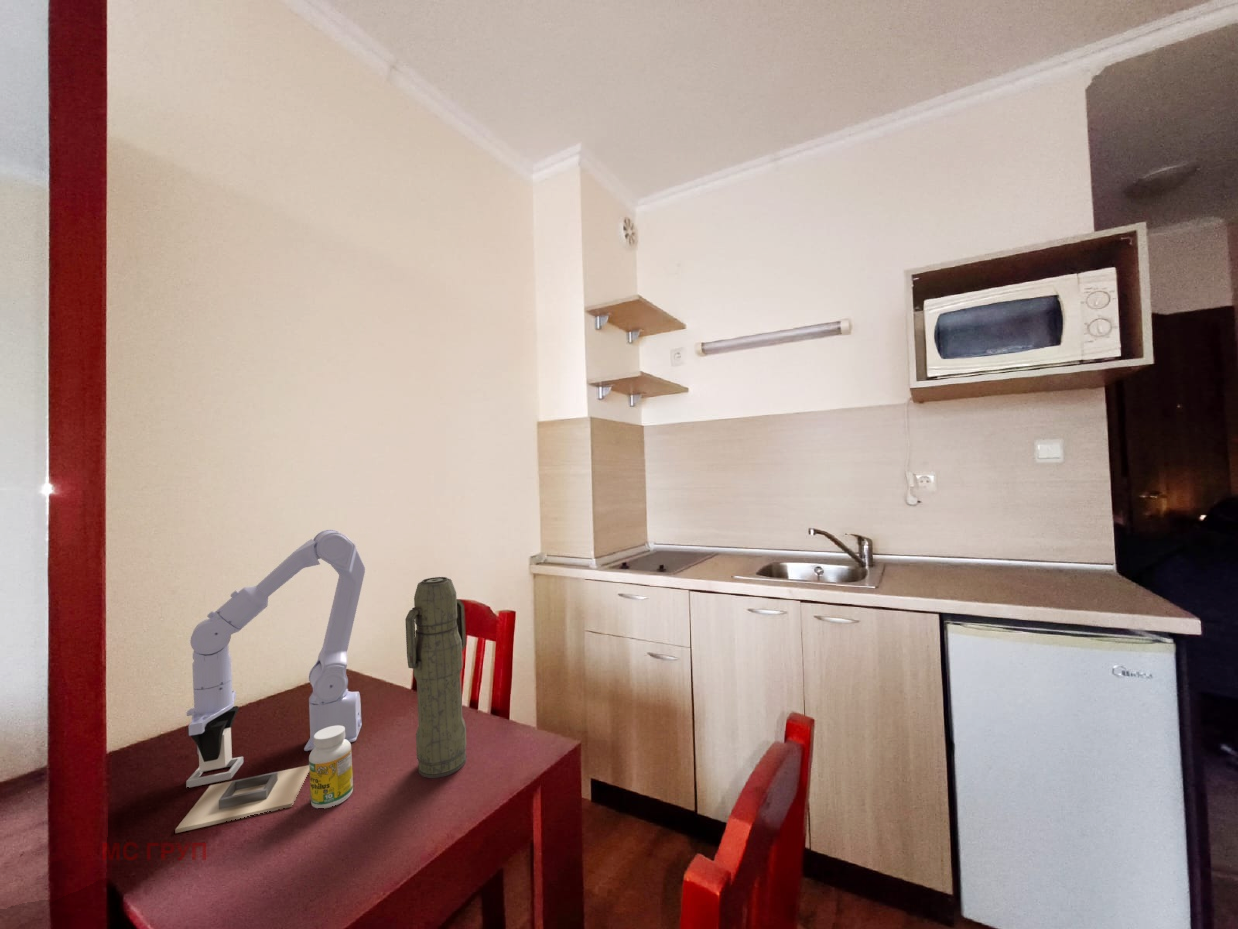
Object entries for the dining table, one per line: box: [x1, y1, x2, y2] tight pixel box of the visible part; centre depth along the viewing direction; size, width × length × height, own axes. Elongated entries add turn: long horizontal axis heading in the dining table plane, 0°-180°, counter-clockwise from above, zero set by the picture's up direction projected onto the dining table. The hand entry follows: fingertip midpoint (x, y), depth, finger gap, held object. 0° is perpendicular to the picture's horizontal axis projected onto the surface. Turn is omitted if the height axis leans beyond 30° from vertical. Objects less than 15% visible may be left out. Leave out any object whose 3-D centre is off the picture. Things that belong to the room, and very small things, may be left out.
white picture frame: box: [185, 756, 244, 789], centre depth 94 cm, size 7×6×1 cm
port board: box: [174, 764, 310, 834], centre depth 87 cm, size 16×12×2 cm
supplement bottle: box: [308, 725, 354, 809], centre depth 86 cm, size 6×6×11 cm
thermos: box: [405, 576, 467, 779], centre depth 95 cm, size 9×12×35 cm
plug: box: [196, 727, 233, 772], centre depth 94 cm, size 4×3×6 cm, turn 109°
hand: (215, 755), depth 94 cm, fingers closed on plug, 3 cm apart
